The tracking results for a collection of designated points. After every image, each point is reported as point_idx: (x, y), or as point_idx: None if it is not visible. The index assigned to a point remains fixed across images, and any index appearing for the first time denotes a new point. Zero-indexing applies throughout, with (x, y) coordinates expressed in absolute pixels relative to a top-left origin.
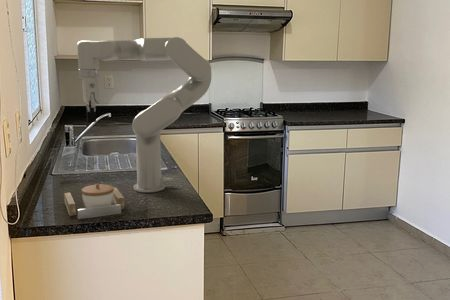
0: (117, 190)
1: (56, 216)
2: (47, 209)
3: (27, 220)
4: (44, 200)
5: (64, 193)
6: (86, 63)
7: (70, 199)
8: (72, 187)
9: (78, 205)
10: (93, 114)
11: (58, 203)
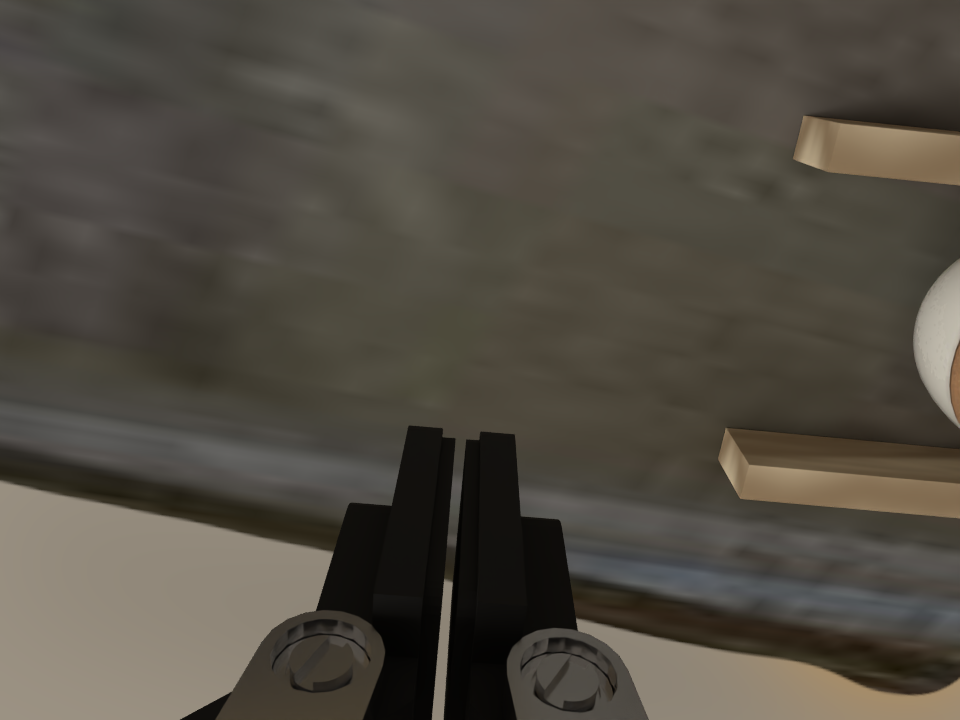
0: (937, 140)
1: (919, 539)
2: (763, 556)
3: (879, 657)
4: (575, 543)
5: (751, 499)
6: None
7: (913, 494)
8: (350, 338)
9: (804, 397)
10: (568, 622)
11: (686, 488)
